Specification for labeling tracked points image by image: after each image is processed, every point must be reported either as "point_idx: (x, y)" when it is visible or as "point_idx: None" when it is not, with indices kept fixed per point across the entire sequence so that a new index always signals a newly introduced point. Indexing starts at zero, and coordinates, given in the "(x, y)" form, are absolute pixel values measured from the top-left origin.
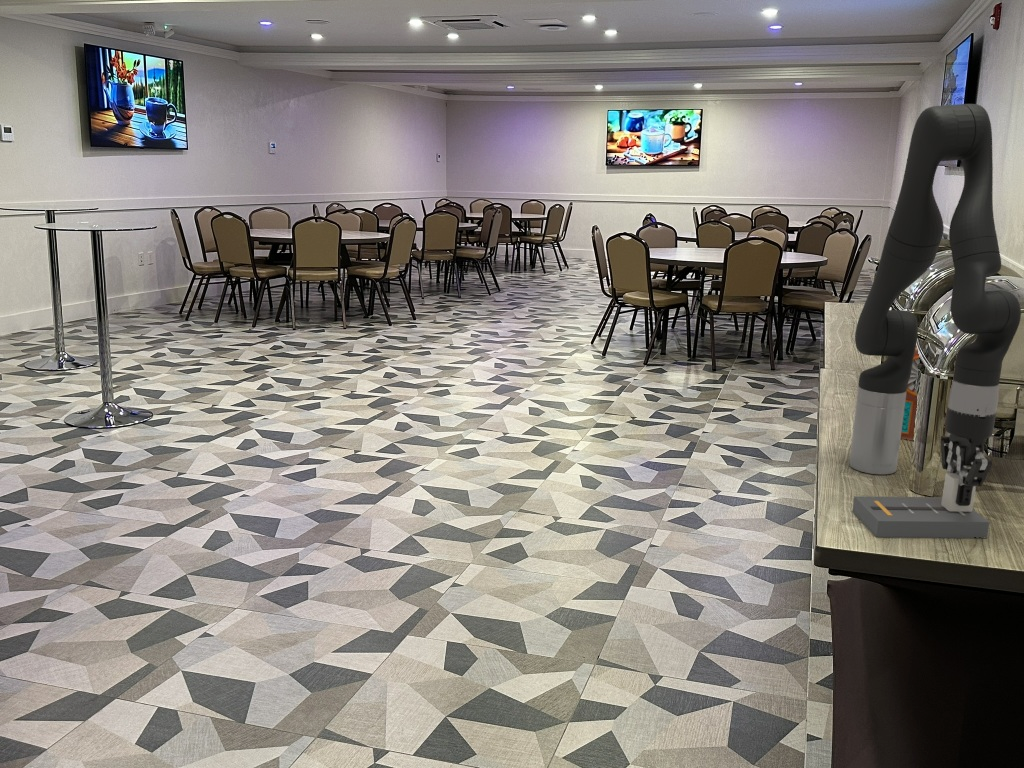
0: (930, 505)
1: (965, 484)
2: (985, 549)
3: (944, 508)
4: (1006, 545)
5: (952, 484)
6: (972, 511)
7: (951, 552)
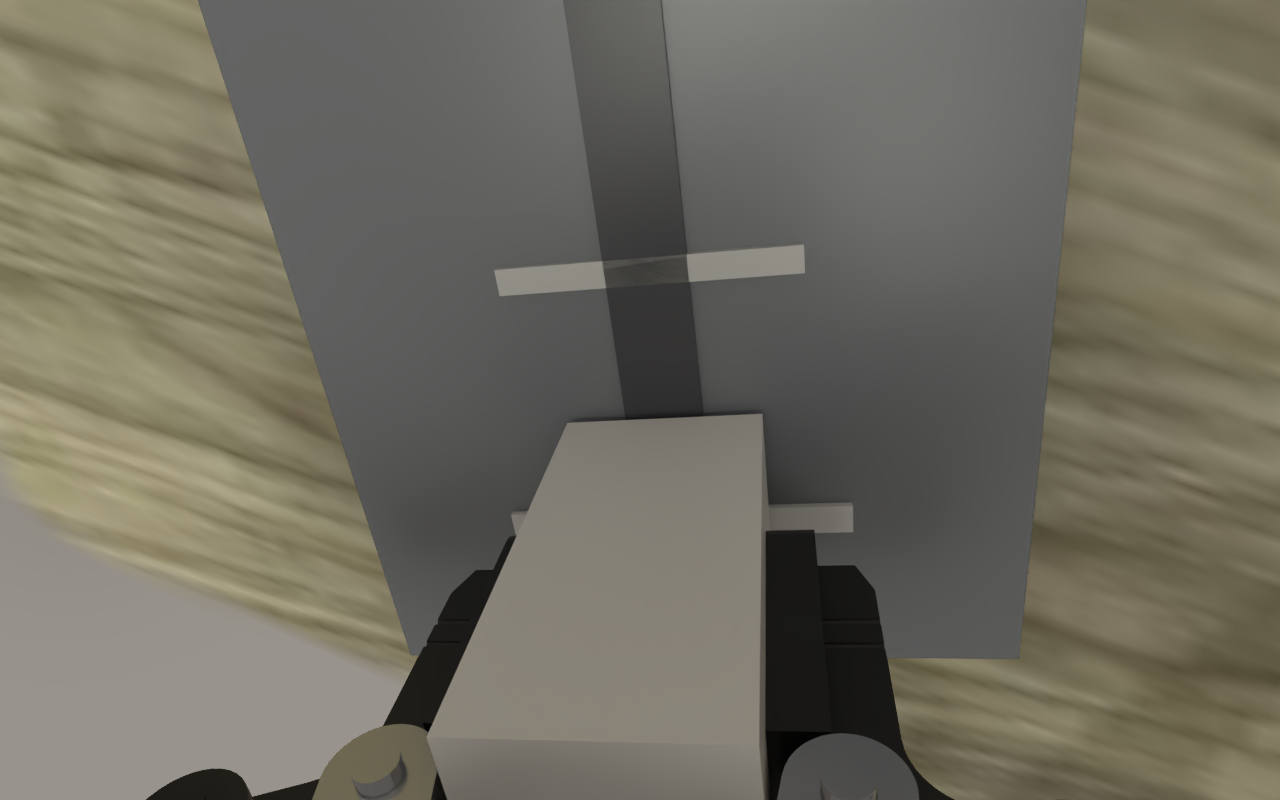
0: (761, 291)
1: (222, 785)
2: (253, 469)
3: (666, 410)
4: (373, 622)
5: (484, 651)
6: None
7: (85, 189)
